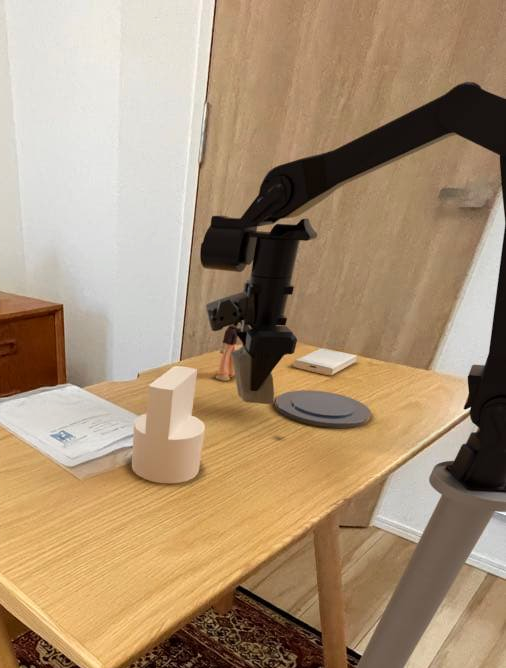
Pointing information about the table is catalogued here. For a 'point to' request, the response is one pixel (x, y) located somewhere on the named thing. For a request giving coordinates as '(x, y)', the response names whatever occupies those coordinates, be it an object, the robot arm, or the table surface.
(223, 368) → the grandmother figurine
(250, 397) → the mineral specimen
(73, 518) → the table surface
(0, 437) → the table surface
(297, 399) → the plate
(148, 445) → the base with upright slab
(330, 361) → the hard drive
